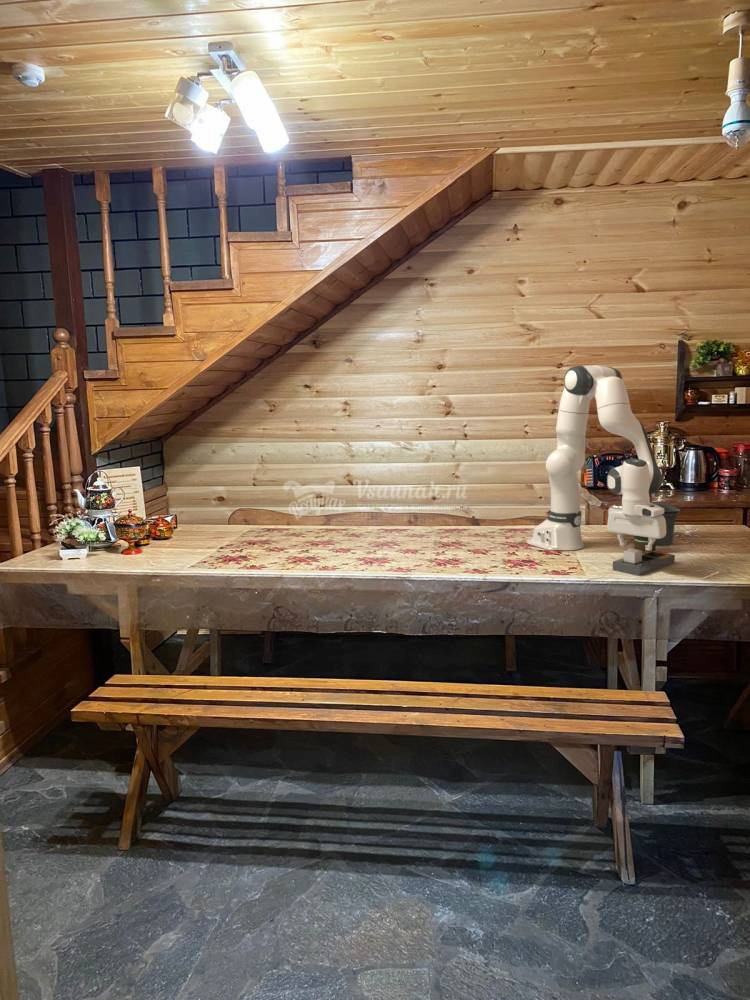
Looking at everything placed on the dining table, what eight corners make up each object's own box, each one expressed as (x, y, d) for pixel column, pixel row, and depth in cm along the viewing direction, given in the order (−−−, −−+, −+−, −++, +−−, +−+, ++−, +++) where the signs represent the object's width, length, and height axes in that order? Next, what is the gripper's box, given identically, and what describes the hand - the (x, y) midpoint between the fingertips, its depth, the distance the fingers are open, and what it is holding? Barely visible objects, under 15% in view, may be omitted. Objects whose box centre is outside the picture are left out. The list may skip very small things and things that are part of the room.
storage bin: (625, 536, 300) (626, 501, 298) (662, 534, 301) (664, 500, 298) (647, 548, 279) (648, 512, 277) (687, 546, 280) (688, 510, 277)
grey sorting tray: (612, 571, 251) (612, 561, 250) (648, 559, 264) (648, 549, 264) (638, 577, 243) (639, 566, 243) (674, 564, 256) (674, 554, 256)
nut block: (623, 570, 250) (623, 550, 249) (630, 568, 252) (630, 548, 251) (634, 573, 247) (634, 552, 245) (641, 570, 249) (642, 550, 248)
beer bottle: (648, 555, 270) (650, 491, 265) (629, 551, 276) (631, 488, 272) (660, 551, 274) (662, 488, 270) (642, 547, 280) (643, 486, 276)
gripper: (603, 506, 251) (603, 545, 254) (658, 512, 236) (658, 554, 238) (613, 503, 255) (614, 542, 258) (669, 509, 240) (668, 550, 242)
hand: (635, 547), depth 248 cm, fingers open, 8 cm apart
